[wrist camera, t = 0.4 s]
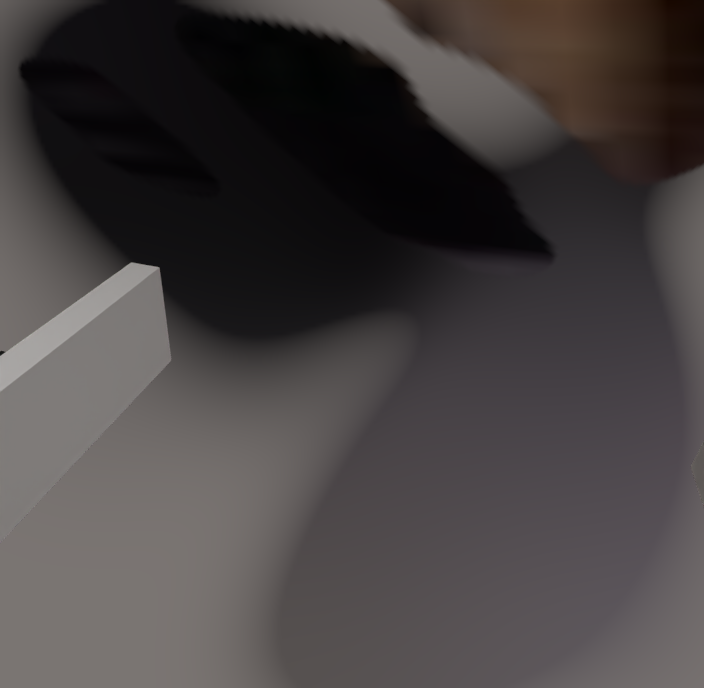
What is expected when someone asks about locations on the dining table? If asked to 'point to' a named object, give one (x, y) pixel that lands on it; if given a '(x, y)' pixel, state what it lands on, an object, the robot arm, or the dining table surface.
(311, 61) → the dining table surface
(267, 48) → the dining table surface
